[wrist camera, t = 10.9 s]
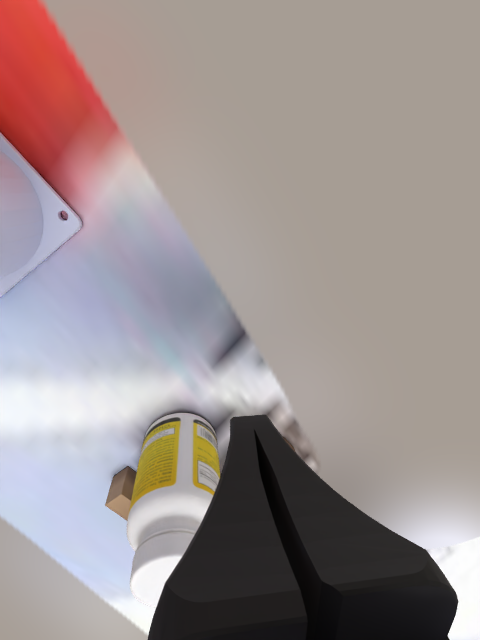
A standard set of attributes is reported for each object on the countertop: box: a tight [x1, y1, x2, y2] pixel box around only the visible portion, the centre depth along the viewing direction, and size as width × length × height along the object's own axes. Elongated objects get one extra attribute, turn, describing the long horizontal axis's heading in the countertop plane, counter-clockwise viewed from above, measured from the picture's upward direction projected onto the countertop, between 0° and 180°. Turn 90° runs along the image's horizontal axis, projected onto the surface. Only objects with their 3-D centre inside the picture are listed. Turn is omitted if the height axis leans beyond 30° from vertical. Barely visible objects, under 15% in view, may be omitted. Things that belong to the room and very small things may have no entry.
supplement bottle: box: [127, 413, 220, 607], centre depth 20 cm, size 5×5×10 cm
